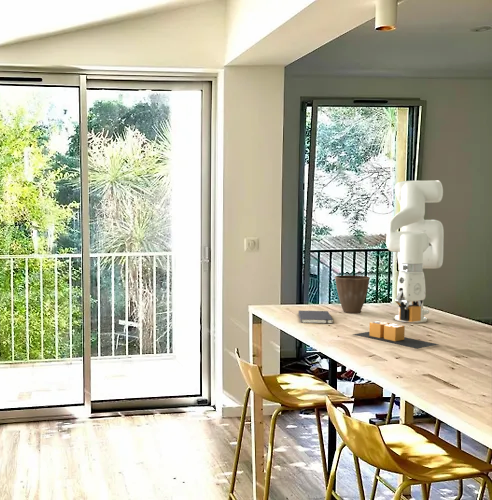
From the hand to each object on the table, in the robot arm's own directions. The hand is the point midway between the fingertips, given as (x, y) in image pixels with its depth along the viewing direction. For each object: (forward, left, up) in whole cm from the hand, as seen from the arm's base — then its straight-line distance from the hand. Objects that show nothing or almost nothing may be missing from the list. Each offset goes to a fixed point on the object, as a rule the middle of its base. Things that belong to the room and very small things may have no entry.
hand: (410, 319), depth 228 cm
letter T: (0, 0, 0) cm, 0 cm away
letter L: (0, -13, -8) cm, 15 cm away
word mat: (0, -7, -9) cm, 11 cm away
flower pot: (-34, -57, -9) cm, 67 cm away
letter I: (0, -7, -8) cm, 11 cm away
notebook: (-8, -54, -9) cm, 55 cm away
